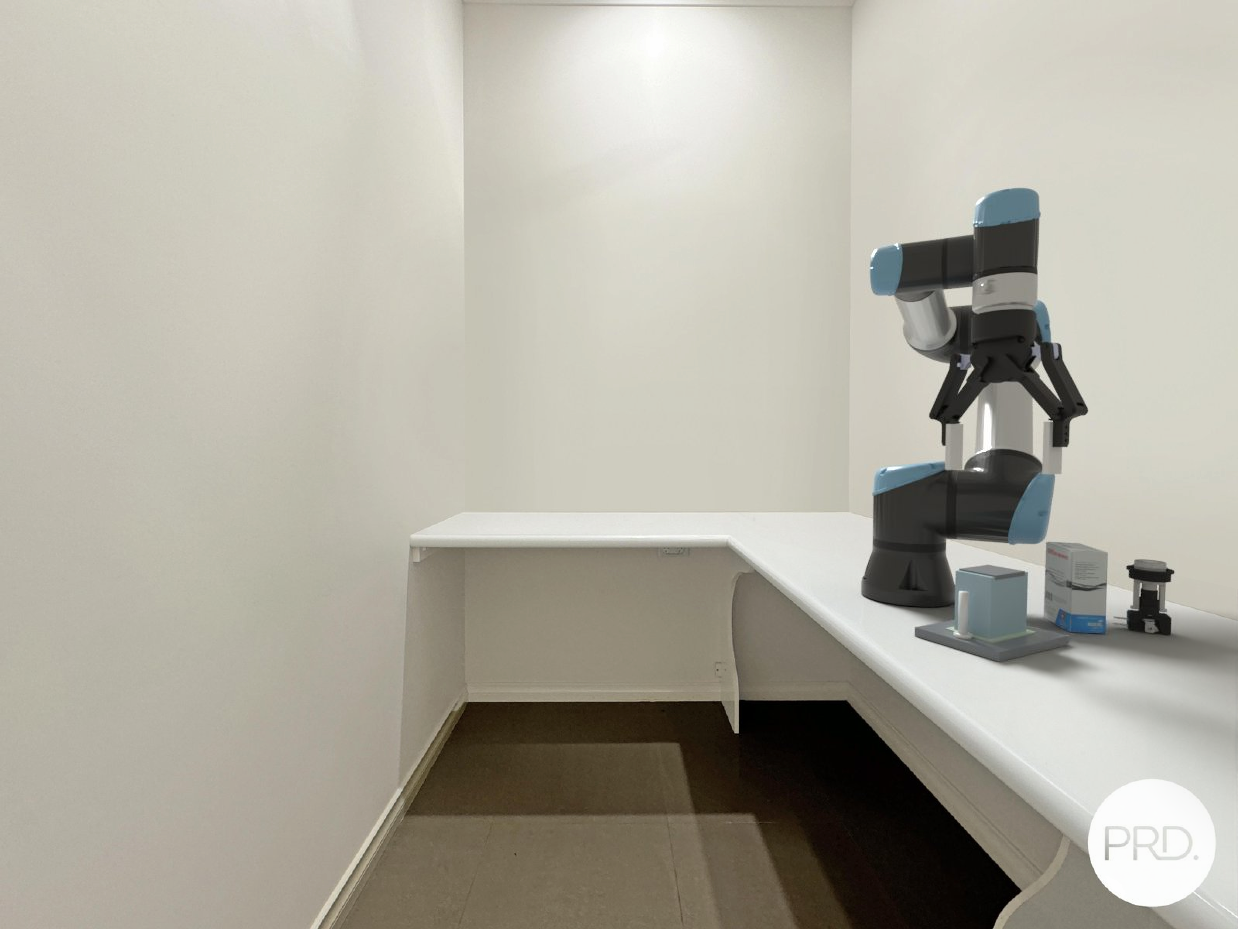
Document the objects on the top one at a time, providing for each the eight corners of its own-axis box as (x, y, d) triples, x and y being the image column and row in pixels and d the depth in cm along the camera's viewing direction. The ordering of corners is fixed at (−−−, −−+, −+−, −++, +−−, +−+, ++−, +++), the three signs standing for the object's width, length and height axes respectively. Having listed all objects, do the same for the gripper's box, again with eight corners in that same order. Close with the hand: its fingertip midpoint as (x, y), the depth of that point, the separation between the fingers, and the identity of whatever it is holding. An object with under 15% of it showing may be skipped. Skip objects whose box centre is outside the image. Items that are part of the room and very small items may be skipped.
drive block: (953, 629, 90) (955, 569, 89) (990, 621, 93) (991, 564, 93) (990, 639, 85) (991, 576, 85) (1026, 631, 89) (1028, 570, 89)
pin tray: (914, 635, 91) (915, 584, 91) (982, 622, 98) (984, 574, 98) (998, 661, 81) (1000, 603, 80) (1068, 644, 87) (1070, 590, 87)
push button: (1116, 632, 93) (1118, 562, 93) (1109, 622, 98) (1112, 556, 98) (1176, 638, 90) (1179, 566, 90) (1166, 629, 95) (1169, 560, 95)
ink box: (1107, 635, 92) (1110, 551, 92) (1068, 632, 93) (1070, 550, 93) (1077, 618, 100) (1080, 542, 100) (1042, 616, 101) (1044, 540, 101)
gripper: (905, 324, 97) (902, 468, 98) (1089, 290, 75) (1083, 477, 75) (939, 328, 100) (936, 467, 101) (1125, 296, 78) (1119, 475, 79)
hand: (999, 472), depth 88 cm, fingers open, 13 cm apart
